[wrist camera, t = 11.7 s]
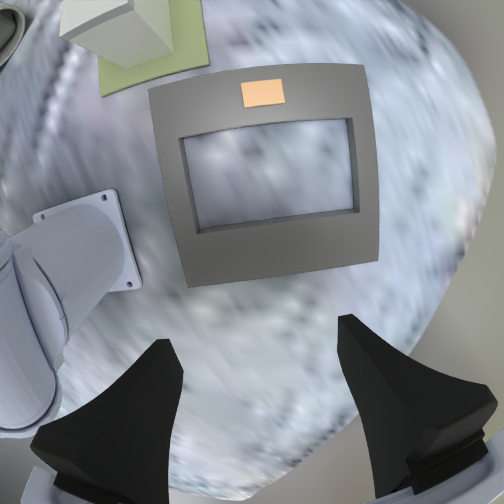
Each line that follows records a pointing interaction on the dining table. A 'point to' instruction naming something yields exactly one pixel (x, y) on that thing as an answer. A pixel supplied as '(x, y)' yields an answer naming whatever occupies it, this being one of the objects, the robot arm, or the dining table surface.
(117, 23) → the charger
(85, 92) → the dining table surface
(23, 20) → the ceramic mug
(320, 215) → the grey square frame
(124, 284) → the robot arm
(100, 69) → the rubber mat
